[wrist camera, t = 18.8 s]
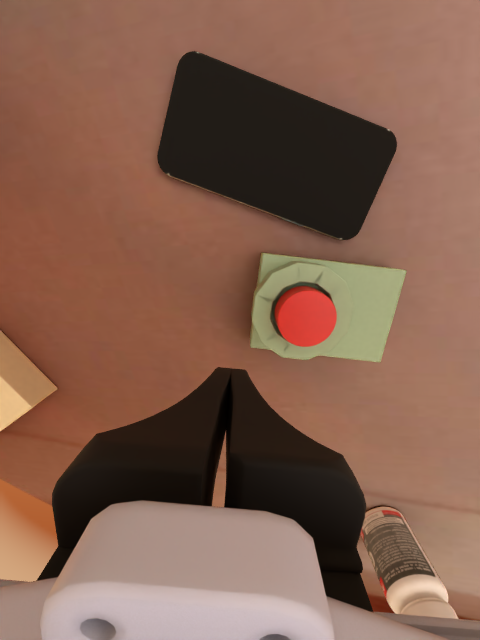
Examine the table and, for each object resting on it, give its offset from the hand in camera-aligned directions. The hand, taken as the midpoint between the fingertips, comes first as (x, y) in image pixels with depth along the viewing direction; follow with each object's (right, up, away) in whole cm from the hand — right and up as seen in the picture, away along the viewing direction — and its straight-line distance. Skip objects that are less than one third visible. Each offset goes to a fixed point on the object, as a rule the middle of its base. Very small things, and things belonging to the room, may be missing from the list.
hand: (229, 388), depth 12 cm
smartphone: (+3, +14, +7) cm, 16 cm away
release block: (+7, +4, +9) cm, 12 cm away
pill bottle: (+15, -18, +16) cm, 28 cm away
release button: (+5, +4, +6) cm, 8 cm away
